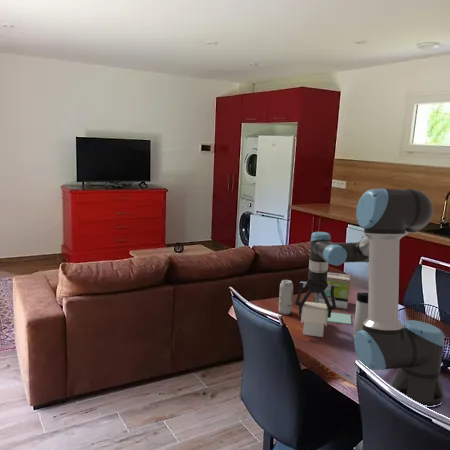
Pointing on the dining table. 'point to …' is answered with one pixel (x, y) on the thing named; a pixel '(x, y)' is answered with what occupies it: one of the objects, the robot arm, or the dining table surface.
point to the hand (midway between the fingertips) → (314, 323)
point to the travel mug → (360, 312)
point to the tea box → (338, 289)
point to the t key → (317, 296)
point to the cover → (314, 312)
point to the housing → (313, 329)
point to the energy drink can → (285, 297)
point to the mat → (340, 318)
